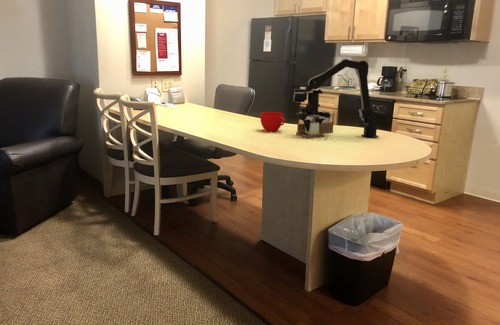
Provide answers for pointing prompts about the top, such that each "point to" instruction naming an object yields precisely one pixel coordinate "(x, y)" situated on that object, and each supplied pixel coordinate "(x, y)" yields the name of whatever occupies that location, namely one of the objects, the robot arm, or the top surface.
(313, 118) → the digital clock
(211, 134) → the top surface
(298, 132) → the wall board
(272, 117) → the ceramic cup
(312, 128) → the cabinet block
